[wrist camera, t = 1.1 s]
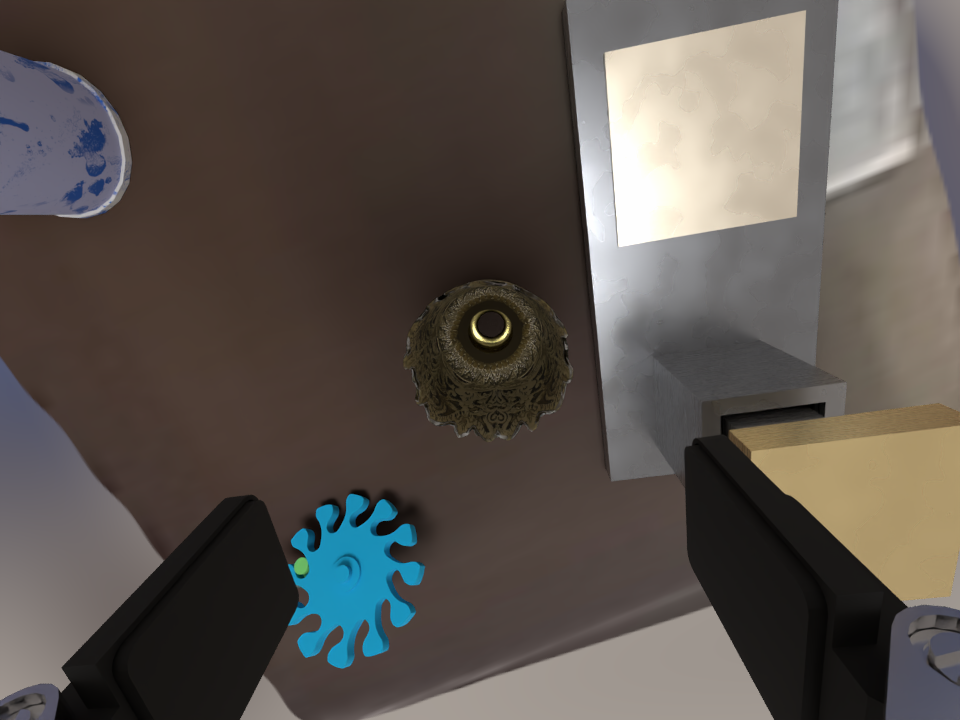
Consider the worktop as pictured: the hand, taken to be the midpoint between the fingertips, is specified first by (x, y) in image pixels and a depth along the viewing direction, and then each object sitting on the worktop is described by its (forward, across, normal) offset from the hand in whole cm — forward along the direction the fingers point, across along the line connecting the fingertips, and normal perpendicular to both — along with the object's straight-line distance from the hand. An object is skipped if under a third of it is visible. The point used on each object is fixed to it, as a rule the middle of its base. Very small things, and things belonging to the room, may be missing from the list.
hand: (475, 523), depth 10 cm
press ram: (+13, -12, +6) cm, 19 cm away
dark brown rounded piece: (+18, 0, 0) cm, 18 cm away
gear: (+18, +12, +14) cm, 26 cm away
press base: (+18, -12, -2) cm, 22 cm away
